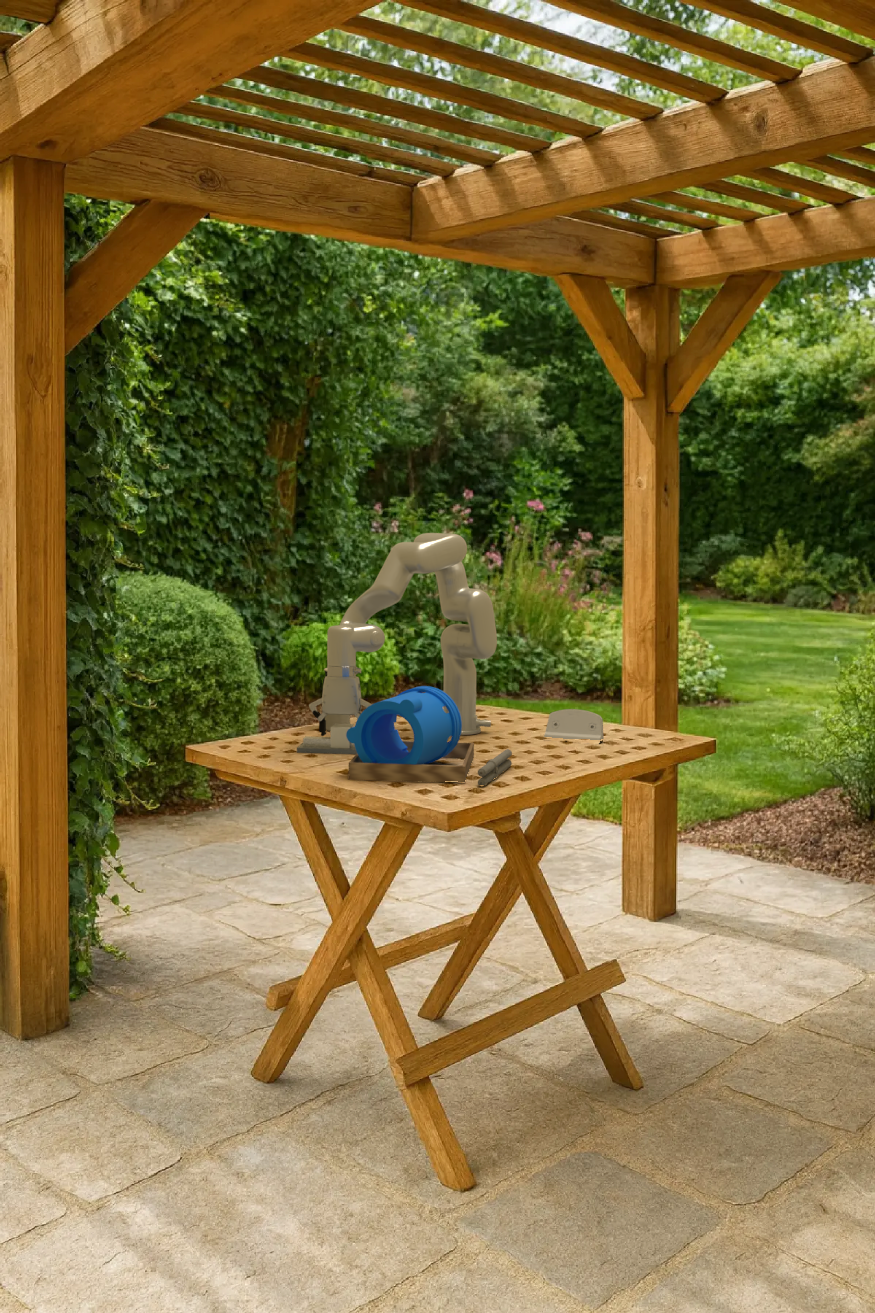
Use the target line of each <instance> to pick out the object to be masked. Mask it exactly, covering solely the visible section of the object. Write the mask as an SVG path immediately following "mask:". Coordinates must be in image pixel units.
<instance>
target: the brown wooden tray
mask: <svg viewBox="0 0 875 1313" xmlns="http://www.w3.org/2000/svg"><path fill="white" fill-rule="evenodd" d="M402 741H403V743H404V744H405V745H406V746H407V747H408V748H407V749H406V750H408V752H410V751H411V749H412V747H413V744H414V740H402ZM474 755H475V742H464V741H463V742H462V741H461V742H459V741H458V743H457V745H456V746H455V748H454V749H453V750H452V751H451V752H450V753H449V754H448V755H446V756H445V757H443V758H449V759H464V760H463V761H462V765H447V764H446V765H445V764H422V765H419V764H416V765H412V764H387V763H363V762H362V760H361V759H360V757H359V756H358V754H354V756H353V757H352V759H350V761H349V762H348V780H350V781H375V782H378V781H379V782H381V781H385V782H406V781H407V782H411V783H412V782H413V783H415V782H416V783H419V782H418V781H422V782H421V783H437V782H445V781H458V782H465V780H466V781H467V779H466V777H467V778H468V776H467V774H468V775H469V773H470V770H469V769H471V767H472V764H473V762H472V761H474V759H473V758H474V757H475V756H474ZM443 758H442V759H443ZM471 763H472V764H471ZM470 766H471V767H470ZM468 772H469V773H468ZM465 783H466V782H465Z"/></svg>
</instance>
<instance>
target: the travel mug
mask: <svg viewBox="0 0 875 1313" xmlns="http://www.w3.org/2000/svg"><path fill="white" fill-rule="evenodd" d="M323 671H324V675H325V676H324V678H323V679H322V680H323V681H322V686H323V685H324V680H325V677H326V676H327V667H326V668H324V669H323ZM325 720H326V730H327V731H326V732H331V727H332V726H333V725H334V724H351V715H330V714H327V715H326V717H325Z"/></svg>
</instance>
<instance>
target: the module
mask: <svg viewBox="0 0 875 1313" xmlns="http://www.w3.org/2000/svg"><path fill="white" fill-rule="evenodd" d="M352 727H354V723H350V724H334V725H333V726H332V727H331V731H330V737H331V748H350V742H349V741H348V739H347V737H346V733H347V731H348V729H350V728H352Z"/></svg>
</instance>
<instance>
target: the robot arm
mask: <svg viewBox="0 0 875 1313" xmlns="http://www.w3.org/2000/svg"><path fill="white" fill-rule="evenodd" d="M467 551H468V546H467V542H466V540H465V539H464V537H462V536H461V535H460V534H456V533H445V532H444V533H443V532H442V533H439V532H438V533H437V532H426V533H425V532H424V533H422V534H421V533H420V534H419V535H417V536H416V537H415V538H414V540H413V541H402V542H399V543H396V544H394V546H393V547H392V548H391V550H390V551H389V553H388V556H386V559H385V561H384V562H383V565H382V567H381V569H380V571H379V572H378V575H377V577H376V578H375V581H374V582H373V583H372V585H371V586H370V587H369V588H368V589H367V590H365V591H364V592H363V593H362V594H360V596H359V597H358V598H356V599H355V600H354V601H353V602H352V603H351V604H350V605H349V607H347V610H346V611H345V613H344V615H343V616H342V619H341V620H340V623H339V625H332V626H329V627H328V629H327V634H326V636H327V640H326V641H327V646H326V647H327V650H326V651H327V652H326V653H327V656H326V658H327V659H326V661H327V666H326V668H327V676H326V677H325V676H324V677H325V680H324V685H323V684H322V695H321V696H322V697H321V698H318V699H317V700H315V701H313V702H311V703H309V704H308V706H309V709H310V711H311V713H312V715H313V717H315V718H316V719H317V721H318V733H320V737H325V735H326V734H327V731H326V720H325V717H326V715H327V714H330V715H350V716H354V717H355V718H356V720H357V719H358V717H359V716H360V714H361V713H362V712H361V710H362V706H363V707H365V709H366V708H367V707H369V706H370V705H372V704H373V703H370V702H368V701H366V700H364V699H363V698H362V693H361V690H362V689H361V682H360V677H359V676H356V675H358V674H362V668H361V667H357V661H356V659H357V658H356V656H357V652H361V653H373V652H376V651H379V650H380V649H381V648H382V647H383V646H384V644H385V641H386V636H385V632H384V631H383V630H382V628H381V627H379V626H377V625H376V624H370V623H367V622H368V621H369V620H370V618H371V617H373V616H374V615H375V614H376V613H378V612H380V611H382V610H385V609H386V608H390V607H392V606H393V605H395V604H397V603H399V602H400V601H401V600H402V597H403V595H404V594H405V591H406V589H407V587H408V586H409V584H410V581H411V580H412V578H413V576H414V575H415V574H431V573H434V574H435V577H436V582H437V588H438V589H437V590H438V595H439V603H440V609H441V613H442V615H443V616H444V617H445V618H446V619H448V620H451V621H456V622H467V623H468V624H464V623H453V624H450V625H448V626H447V627H445V628H444V630H443V631H442V632H441V636H440V649H441V653H442V660H443V692H445V693H446V694H447V695H448V696H450V697H451V699H452V700H453V701H454V702H455V704H456V706H457V707H458V710H459V712H460V715H461V721H462V730H461V736H466V735H467V736H469V735H475V734H480V733H481V731H482V729H481V727H485V728H487V727H488V728H489V727H490V728H491V726H492V721H491V720H488V719H479V718H478V714H477V713H476V712H477V669H476V664H475V661H474V660H473V659H475V660H476V659H477V660H487V659H489V658H492V657H493V655H494V654H495V652H496V650H497V647H498V646H497V645H498V637H497V628H496V620H495V612H494V605H493V601H492V598H490V596H489V594H488V593H487V592H486V591H484V590H482V589H479V588H470V587H469V583H468V578H467V573H466V569H465V566H464V564H463V560H464V558H465V557H466V556H467ZM319 705H321V712H319V711H318V709H317V706H319ZM443 710H444V711H445V713H449V711H448V709H447V708H446V706H444V707H443ZM476 714H477V715H476Z"/></svg>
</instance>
